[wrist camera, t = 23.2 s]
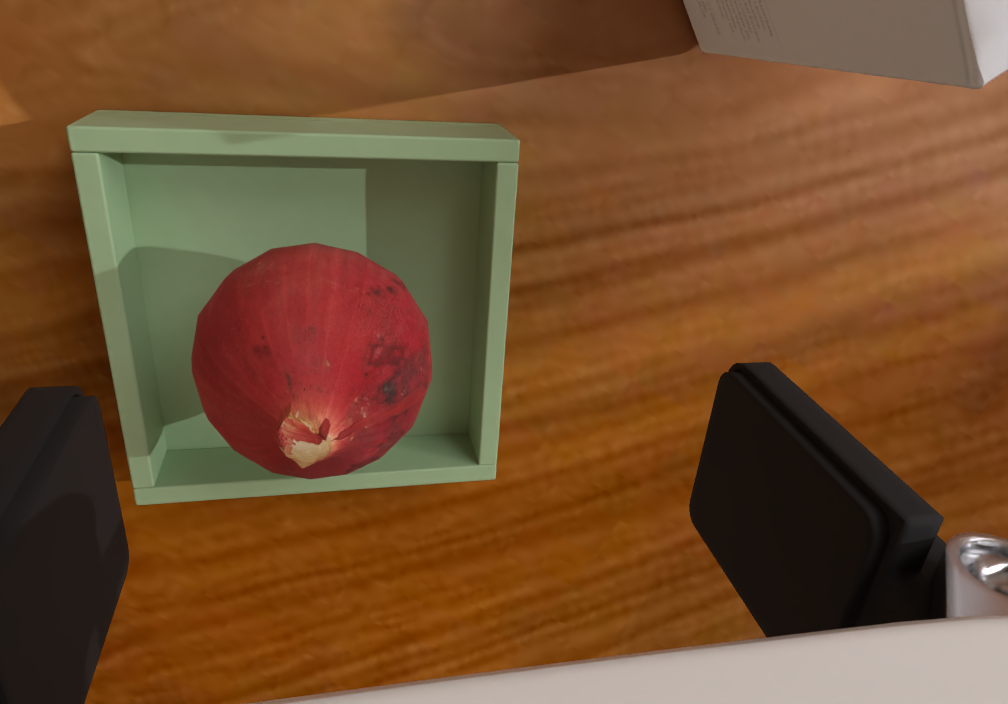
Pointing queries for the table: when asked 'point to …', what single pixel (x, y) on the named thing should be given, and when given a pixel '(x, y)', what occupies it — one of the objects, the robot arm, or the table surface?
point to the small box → (863, 36)
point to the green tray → (287, 222)
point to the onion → (311, 360)
